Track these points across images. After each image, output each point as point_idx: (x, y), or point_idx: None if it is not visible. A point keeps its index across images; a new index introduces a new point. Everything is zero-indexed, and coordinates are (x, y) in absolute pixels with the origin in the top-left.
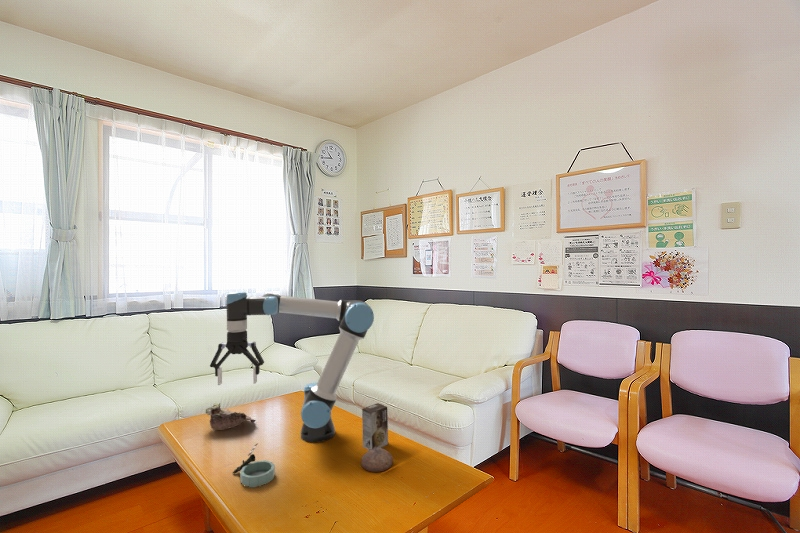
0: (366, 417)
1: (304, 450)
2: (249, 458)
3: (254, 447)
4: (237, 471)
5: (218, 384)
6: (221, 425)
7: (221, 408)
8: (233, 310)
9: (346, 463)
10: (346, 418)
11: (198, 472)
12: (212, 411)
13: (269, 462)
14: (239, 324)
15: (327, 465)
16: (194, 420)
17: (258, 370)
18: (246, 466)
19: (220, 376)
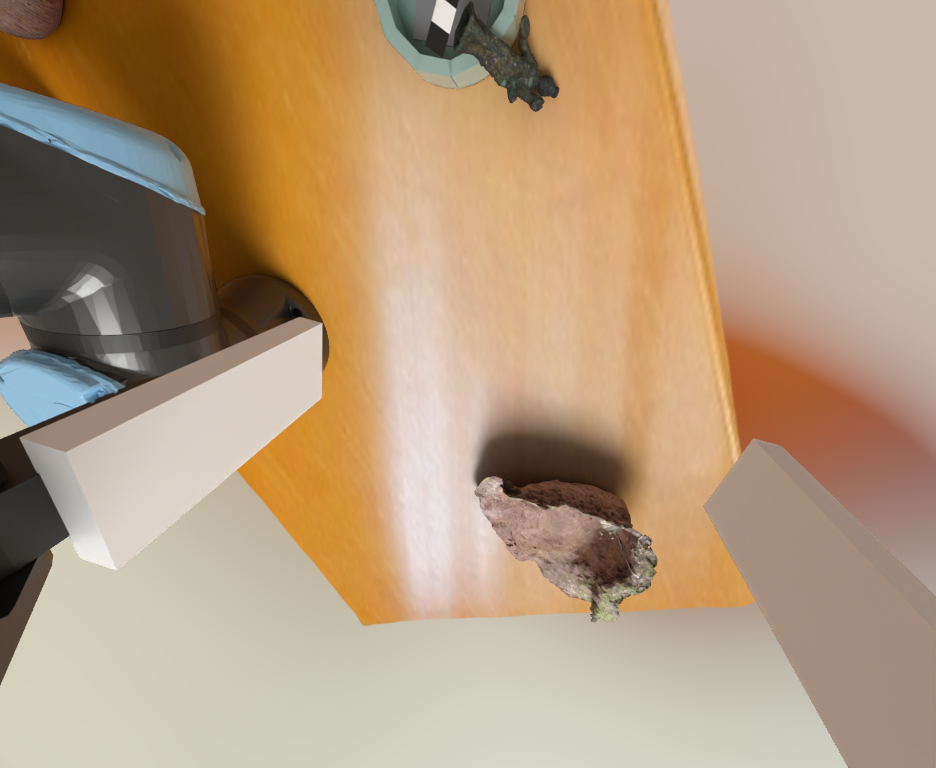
0: None
1: (301, 216)
2: (479, 24)
3: (441, 2)
4: (539, 76)
5: (777, 448)
6: (589, 491)
7: (585, 600)
8: None
9: (131, 29)
10: None
11: (694, 167)
12: (623, 574)
13: (396, 35)
14: None
15: (197, 37)
16: (666, 588)
17: (85, 404)
18: (497, 23)
19: (808, 559)
